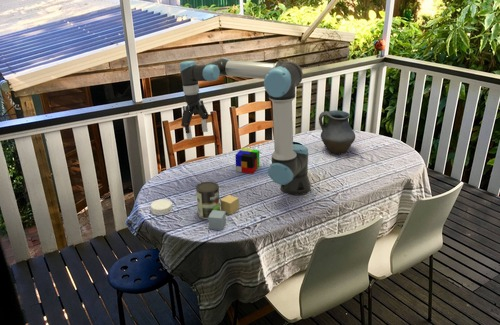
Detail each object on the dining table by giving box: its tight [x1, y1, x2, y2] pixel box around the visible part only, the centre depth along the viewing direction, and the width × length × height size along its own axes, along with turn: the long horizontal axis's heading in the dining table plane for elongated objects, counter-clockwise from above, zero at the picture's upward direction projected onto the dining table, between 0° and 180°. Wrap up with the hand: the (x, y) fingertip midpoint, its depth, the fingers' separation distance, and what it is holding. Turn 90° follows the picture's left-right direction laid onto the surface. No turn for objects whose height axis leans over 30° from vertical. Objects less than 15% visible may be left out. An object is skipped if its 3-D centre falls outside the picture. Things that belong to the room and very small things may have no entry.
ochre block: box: [219, 194, 240, 215], centre depth 209 cm, size 6×6×6 cm
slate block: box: [207, 210, 227, 231], centre depth 197 cm, size 6×6×6 cm
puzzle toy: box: [234, 147, 260, 175], centre depth 248 cm, size 10×10×10 cm
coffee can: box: [195, 181, 221, 220], centre depth 205 cm, size 10×10×14 cm
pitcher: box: [318, 109, 356, 155], centre depth 264 cm, size 21×22×25 cm
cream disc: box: [150, 198, 173, 216], centre depth 211 cm, size 10×10×4 cm
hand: (197, 135), depth 226 cm, fingers open, 13 cm apart
